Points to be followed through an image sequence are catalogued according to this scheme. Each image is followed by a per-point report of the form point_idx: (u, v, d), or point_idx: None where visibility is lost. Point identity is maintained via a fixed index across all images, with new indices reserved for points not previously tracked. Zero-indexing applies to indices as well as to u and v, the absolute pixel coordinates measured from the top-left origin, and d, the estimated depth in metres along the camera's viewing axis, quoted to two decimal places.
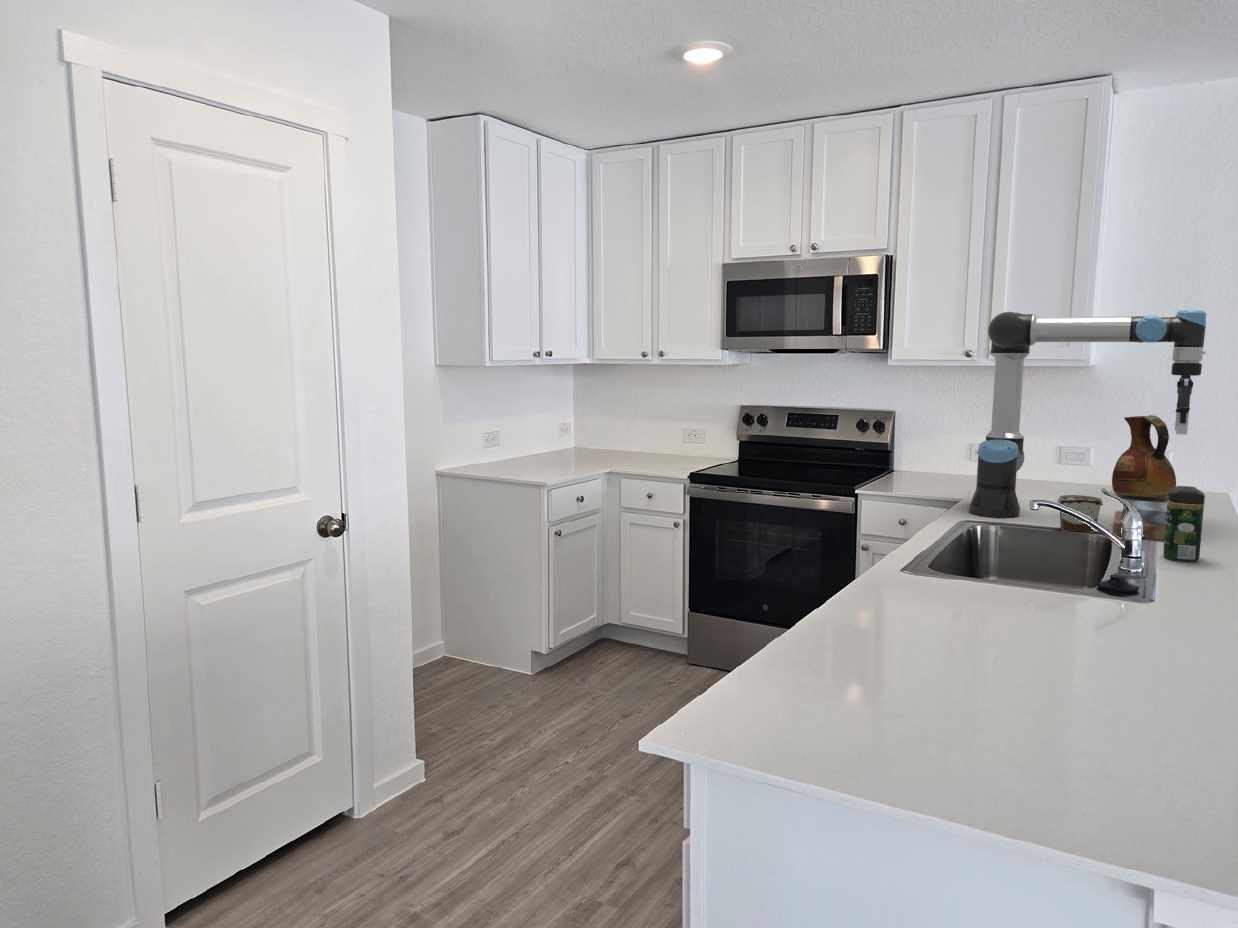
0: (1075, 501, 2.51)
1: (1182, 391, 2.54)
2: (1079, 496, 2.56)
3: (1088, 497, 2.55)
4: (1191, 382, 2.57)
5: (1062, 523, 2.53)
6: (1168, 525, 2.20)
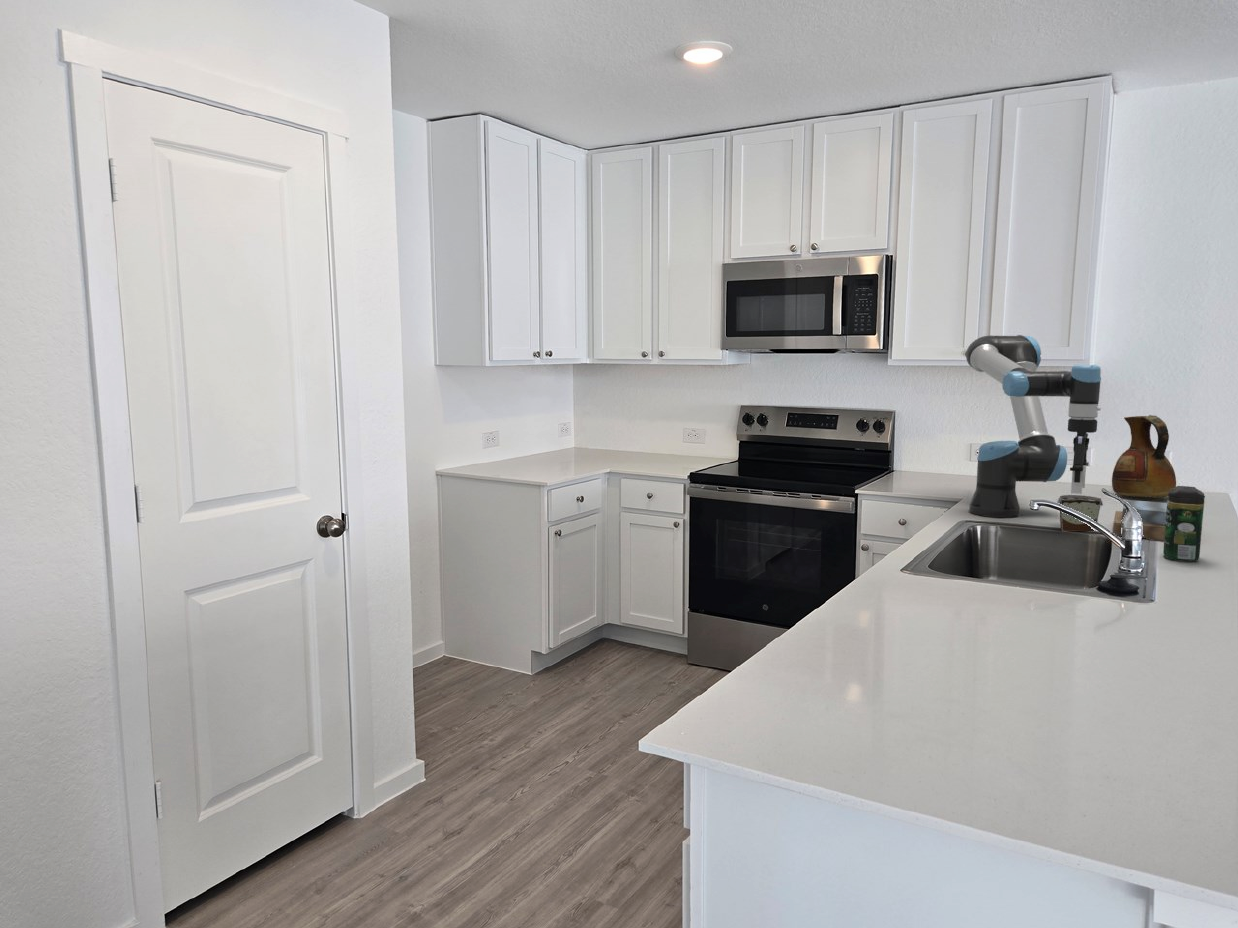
0: (1075, 501, 2.51)
1: (1076, 449, 2.46)
2: (1079, 496, 2.56)
3: (1088, 497, 2.55)
4: (1087, 439, 2.49)
5: (1062, 523, 2.53)
6: (1168, 525, 2.20)
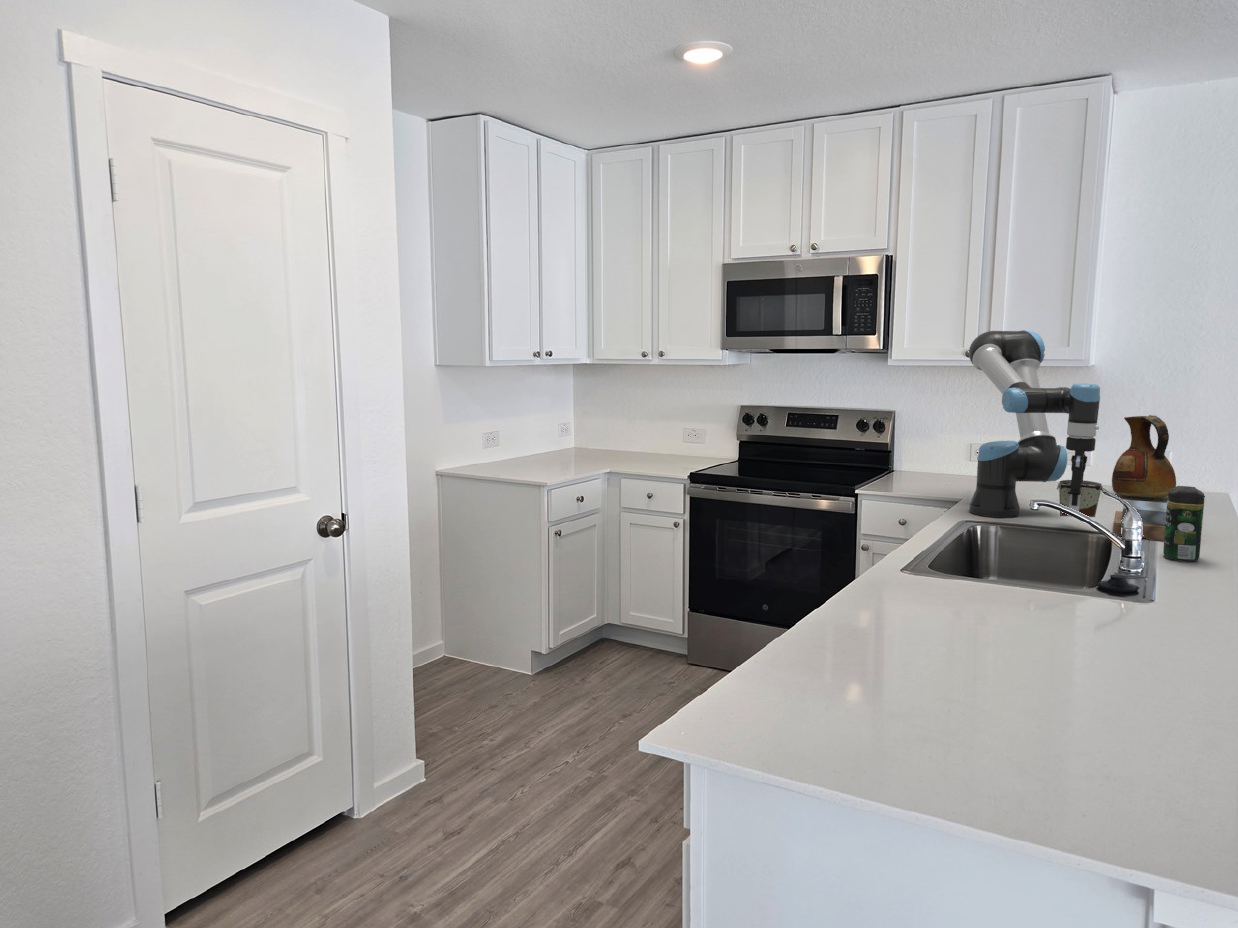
0: None
1: (1073, 473, 2.48)
2: None
3: (1089, 482, 2.55)
4: (1084, 458, 2.50)
5: None
6: (1168, 525, 2.20)
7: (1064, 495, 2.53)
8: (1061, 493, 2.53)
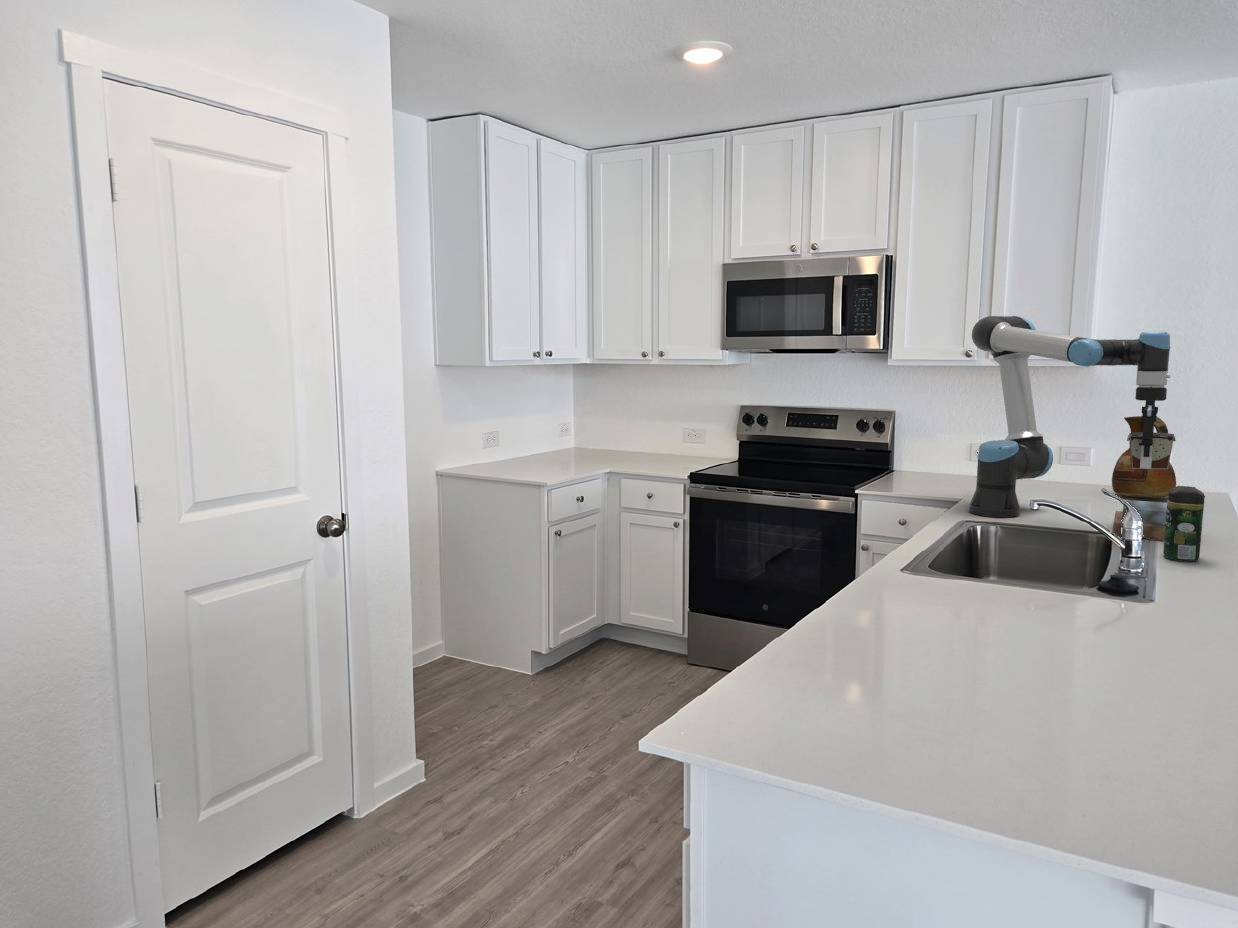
0: None
1: (1145, 423, 2.41)
2: None
3: (1160, 434, 2.47)
4: (1156, 408, 2.43)
5: (1132, 460, 2.46)
6: (1168, 525, 2.20)
7: (1135, 446, 2.46)
8: (1132, 445, 2.46)
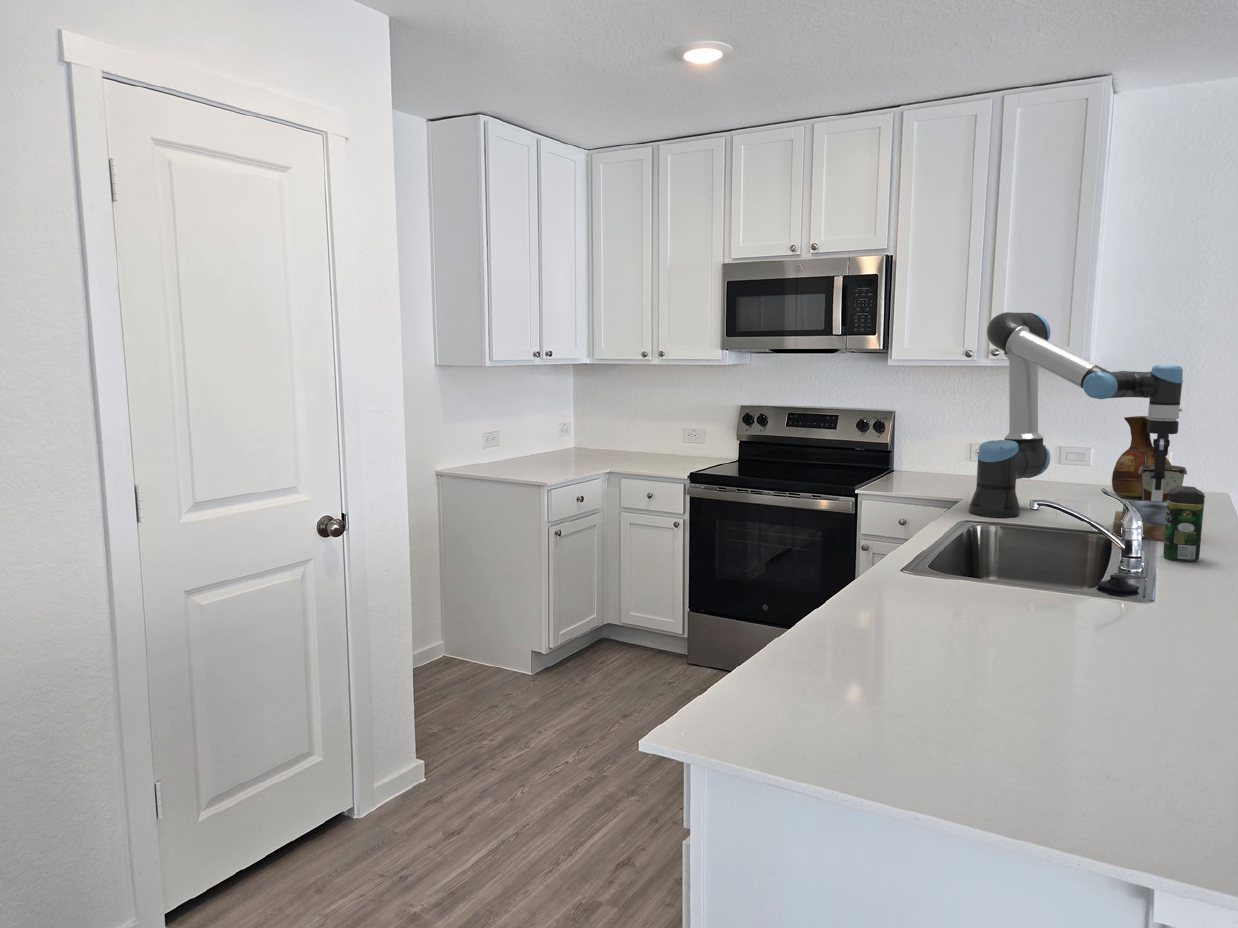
0: None
1: (1157, 456, 2.42)
2: None
3: (1171, 466, 2.48)
4: (1167, 441, 2.44)
5: (1143, 493, 2.47)
6: (1168, 525, 2.20)
7: (1146, 479, 2.46)
8: (1143, 477, 2.46)
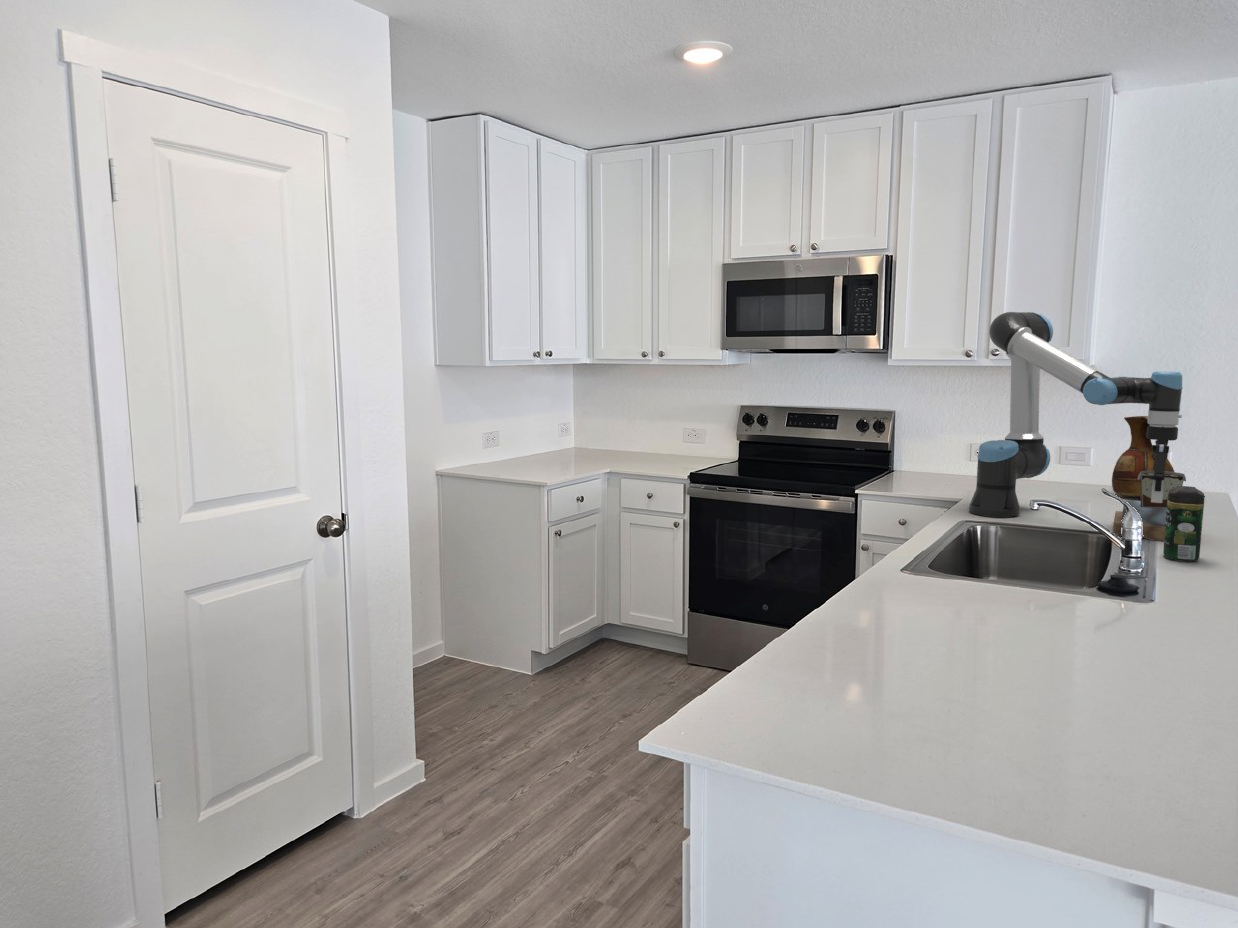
0: None
1: (1157, 457, 2.41)
2: None
3: (1170, 473, 2.49)
4: (1167, 447, 2.44)
5: (1142, 499, 2.47)
6: (1168, 525, 2.20)
7: (1145, 485, 2.47)
8: (1142, 483, 2.47)
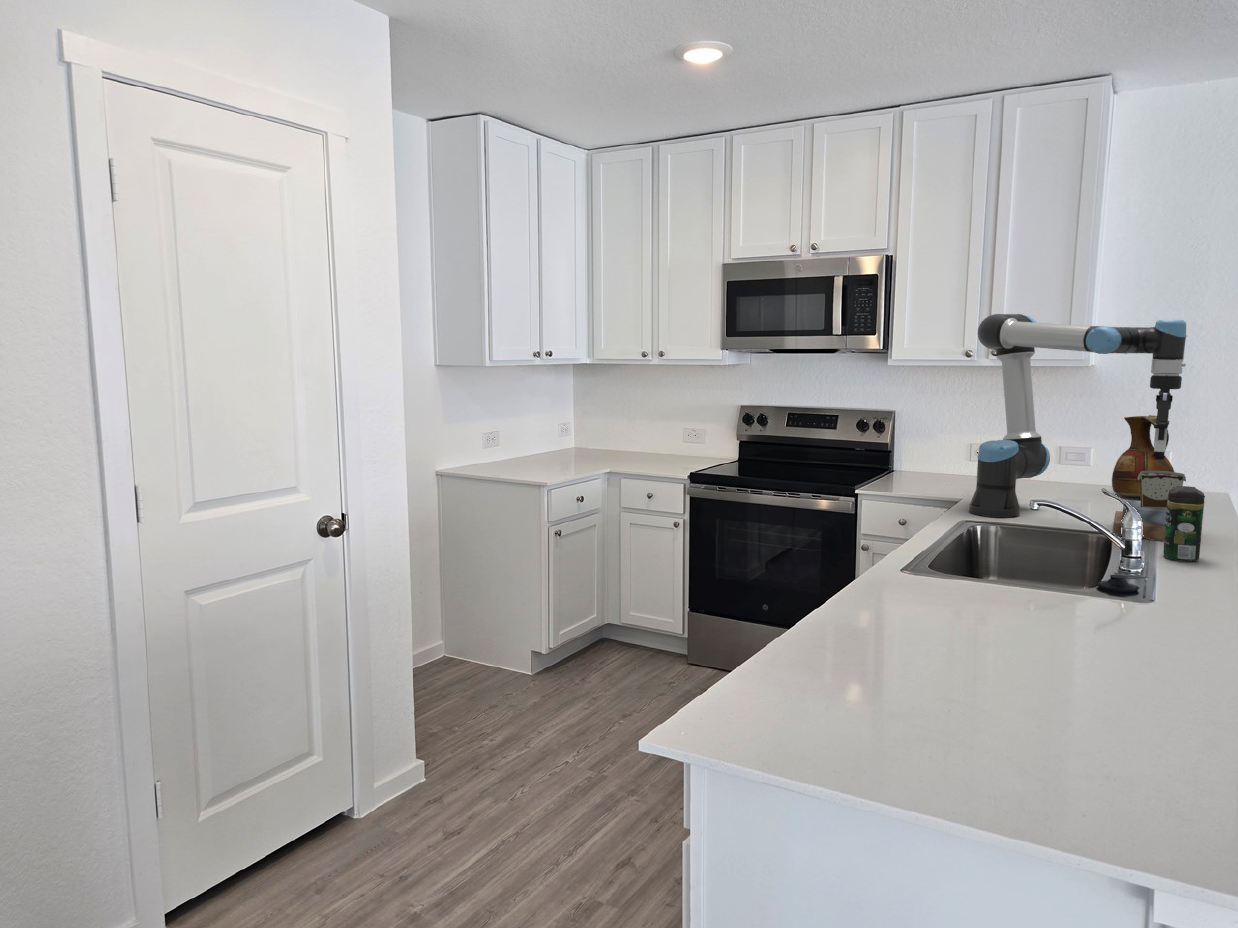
0: (1156, 476, 2.46)
1: (1160, 406, 2.39)
2: (1161, 472, 2.50)
3: (1170, 473, 2.49)
4: (1170, 396, 2.43)
5: (1142, 499, 2.47)
6: (1168, 525, 2.20)
7: (1145, 485, 2.47)
8: (1142, 483, 2.47)
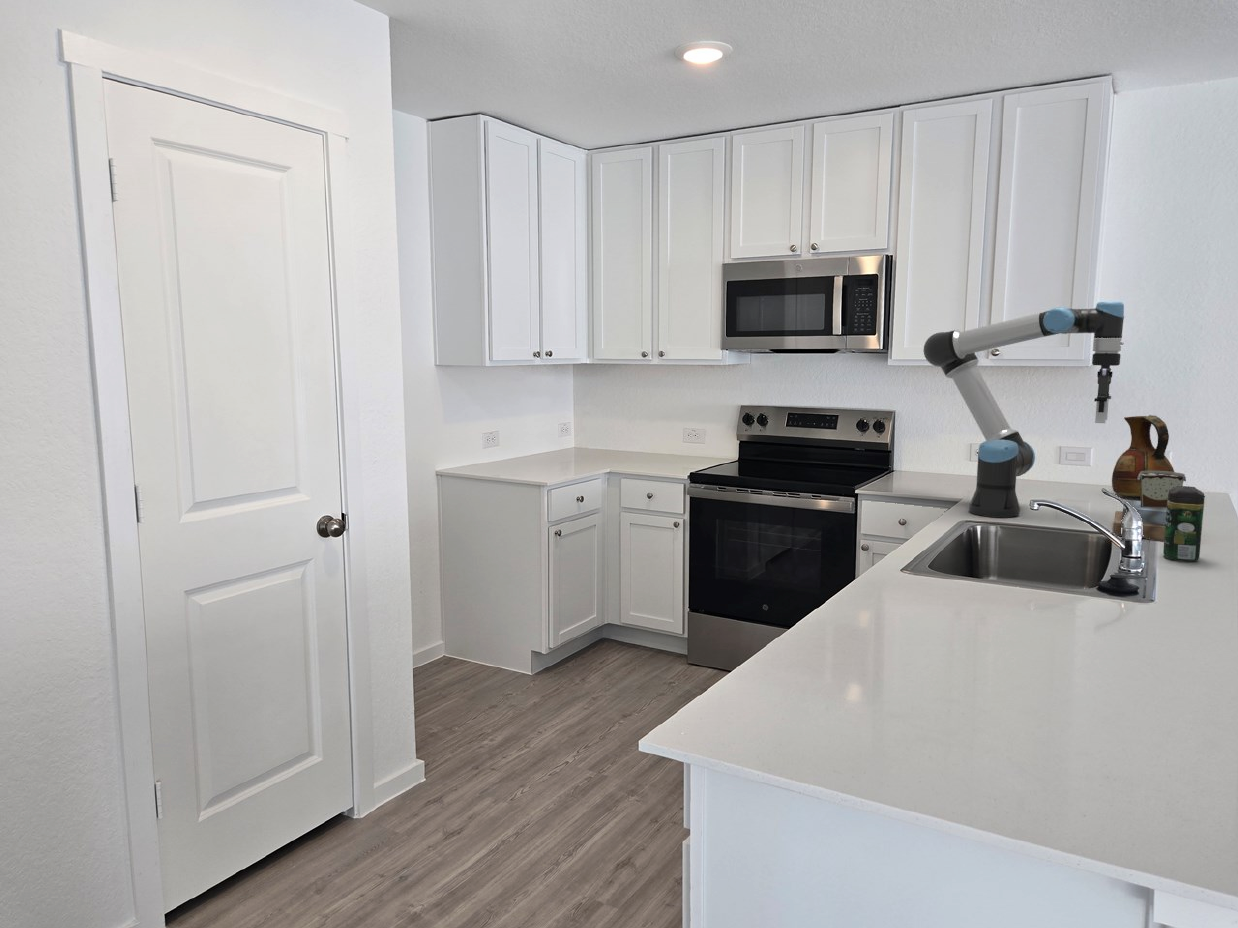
0: (1156, 476, 2.46)
1: (1100, 381, 2.60)
2: (1161, 472, 2.50)
3: (1170, 473, 2.49)
4: (1110, 372, 2.63)
5: (1142, 499, 2.47)
6: (1168, 525, 2.20)
7: (1145, 485, 2.47)
8: (1142, 483, 2.47)
